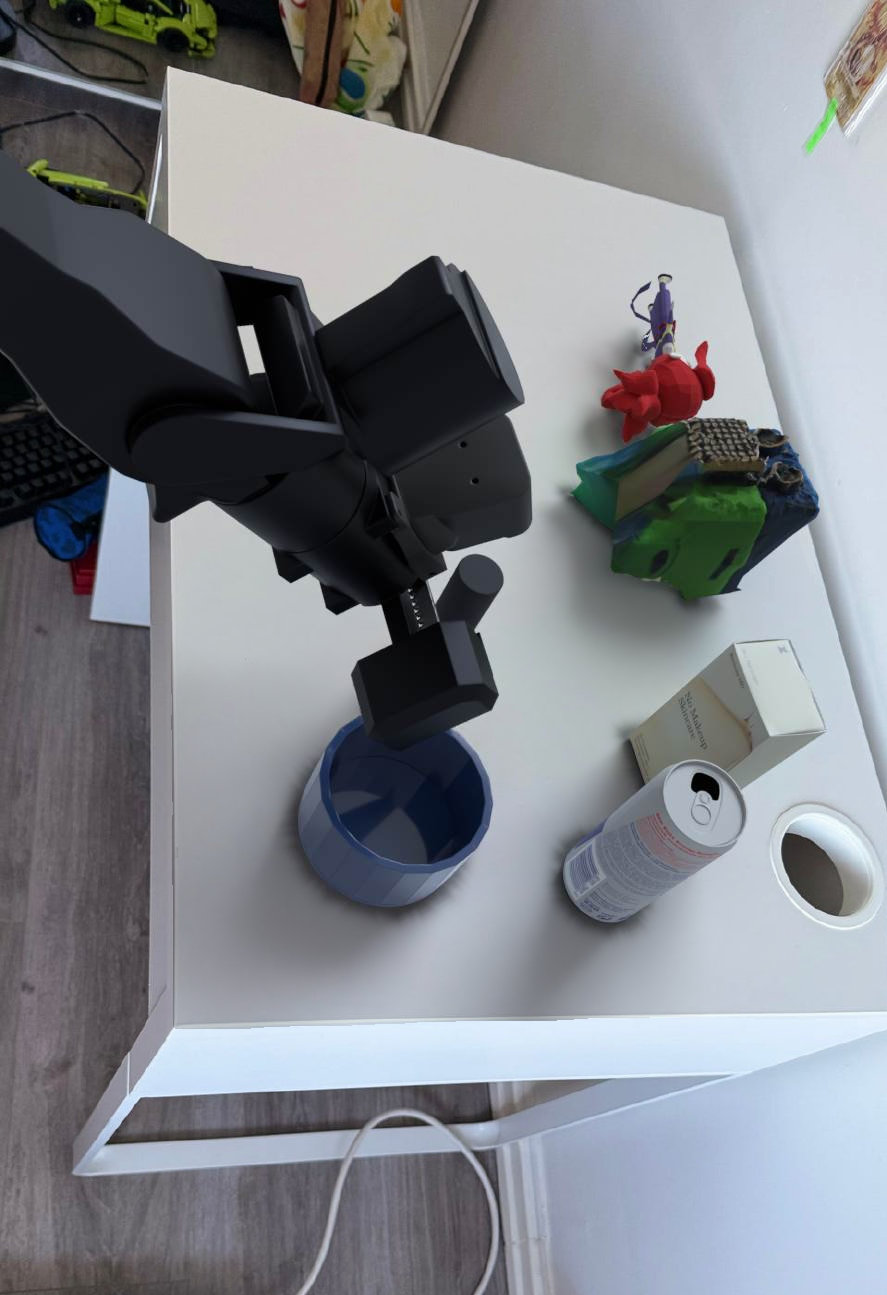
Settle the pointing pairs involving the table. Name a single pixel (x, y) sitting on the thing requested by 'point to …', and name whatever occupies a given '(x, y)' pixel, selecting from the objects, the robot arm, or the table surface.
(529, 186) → the table surface
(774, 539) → the sculpture
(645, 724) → the cosmetic box
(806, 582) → the table surface
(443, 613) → the scrub stick
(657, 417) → the figurine
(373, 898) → the blue plastic pot
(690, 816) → the energy drink
